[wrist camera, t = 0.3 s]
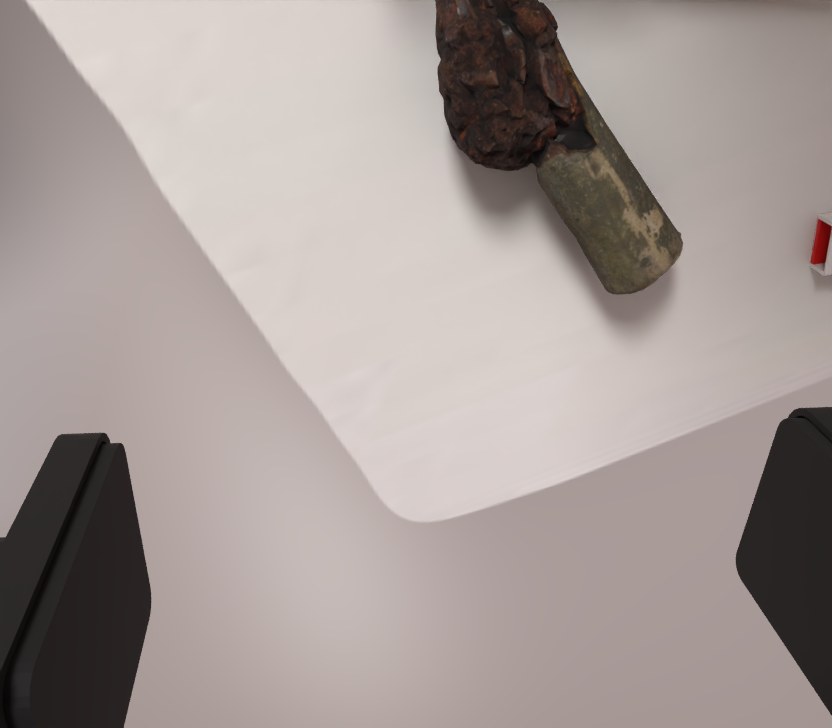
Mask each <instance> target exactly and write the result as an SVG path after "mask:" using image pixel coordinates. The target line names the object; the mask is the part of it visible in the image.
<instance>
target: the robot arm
mask: <svg viewBox="0 0 832 728" xmlns="http://www.w3.org/2000/svg"><path fill="white" fill-rule="evenodd" d="M736 566H737V571H738V574H739V576H740V578H741V580H742V582H743V583H744V585H745V586H746V588H747V589H748V590H749V592H750V594H751V595H752V597H753V598H754V600H755V601H756V603H757V604H758V605H759V607H760V609H761V610H762V612H763V613H764V615H765V616H766V618H767V619H768V621H769V622H770V624H771V625H772V627H773V628H774V630H775V631H776V632H777V634H778V636H779V637H780V639H781V640H782V642H783V643H784V644H785V646H786V647H787V649H788V651H789V652H790V653H791V655H792V656H793V658H794V660H795V661H796V663H797V664H798V666H799V667H800V668H801V670H802V672H803V673H804V675H805V676H806V677H807V679H808V681H809V682H810V684H811V685H812V687H813V688H814V689H815V691H816V693H817V694H818V696H819V697H820V698H821V700H822V702H823V703H824V705H825V706H826V707H827V709H828V710H829V712H830V714H831V715H832V407H822V408H799V409H796V410H794V411H793V412H792V413H791V414H790V415H789V417H788V418H787V419H784V420H783V421H781V422H780V424H779V426H778V428H777V431H776V434H775V437H774V440H773V443H772V446H771V450H770V453H769V456H768V459H767V462H766V465H765V468H764V471H763V474H762V477H761V480H760V483H759V486H758V489H757V493H756V495H755V498H754V502H753V504H752V508H751V511H750V514H749V517H748V520H747V523H746V526H745V529H744V532H743V535H742V538H741V541H740V544H739V547H738V550H737V554H736ZM150 611H151V589H150V583H149V578H148V573H147V567H146V562H145V556H144V550H143V545H142V539H141V534H140V528H139V523H138V518H137V513H136V507H135V501H134V496H133V491H132V485H131V479H130V474H129V469H128V463H127V458H126V453H125V449H124V446H123V444H121V443H112V444H111V443H110V440H109V438H108V436H107V434H105V433H84V434H61V435H59V436H58V437H57V438H56V440H55V441H54V443H53V445H52V447H51V449H50V451H49V453H48V455H47V457H46V459H45V461H44V463H43V465H42V467H41V469H40V471H39V473H38V475H37V477H36V479H35V481H34V483H33V485H32V487H31V489H30V491H29V493H28V495H27V496H26V499H25V500H24V502H23V504H22V506H21V508H20V510H19V512H18V514H17V516H16V519H15V520H14V522H13V524H12V526H11V528H10V530H9V532H8V534H7V536H6V537H4V538H0V728H124V723H125V719H126V714H127V711H128V706H129V702H130V698H131V694H132V689H133V685H134V681H135V677H136V673H137V668H138V664H139V660H140V656H141V651H142V647H143V643H144V639H145V634H146V630H147V625H148V622H149V617H150Z"/></svg>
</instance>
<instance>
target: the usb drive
mask: <svg viewBox="0 0 832 728" xmlns="http://www.w3.org/2000/svg"><path fill="white" fill-rule="evenodd" d="M812 250H813V252H812V257H811V263H810V265H809V267H811V268H812V269H814V270H815V271H817V272H818V273H820V274H821V275H823V276H828V275H832V212H830V213H823V214H818V218H817V224H816V230H815V236H814V242H813V248H812Z"/></svg>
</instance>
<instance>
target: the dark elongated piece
mask: <svg viewBox="0 0 832 728" xmlns="http://www.w3.org/2000/svg"><path fill="white" fill-rule="evenodd" d="M435 1H436V9H437V13H436V33H435V34H436V42H437V50H438V54H439V56H440V58H441V61H440V64H439V66H438V80H439V92H440V93H441V95H442V96H443V99H444V114H445V119H446V122H447V125H448V127H449V130H450V133H451V136H452V138H453V140H454V141H455V142H456V144H457V146H458V147H459V149H461V150H462V151H463V152H464V153H465V154H466V155H467V156H468V157H469V158H470V159H471V160H472V161H474V162H475V163H476V164H482V165H483V166H485V167H487V168H493V169H500V170H505V171H513V170H519V169H521V168H524V167H527V166H528V165H529V164H531V163H533V164H534V165H535V166H536V167H537V176H538V181H539V183H540V186H541V187H542V189H543V190H544V192H545V193H546V195H547V196H548V198H549V199H550V201H551V203H552V204H553V206H554V207H555V209H556V210H557V212H558V213H559V215H560V216H561V218H562V219H563V221H564V222H565V224H566V225H567V226H568V228H569V229H570V230H571V232H572V233H573V234H574V236H575V237H576V238H577V240H578V242H579V244H580V246H581V248H582V250H583V252H584V254H585V256H586V257H587V259H588V260H589V262H590V264H591V266H592V267H593V269H594V271H595V272H596V274H597V276H598V278H599V279H600V281H601V283H602V284H603V286H604V288H605V289H606V290H607V291H608V292H610V293H612V294H631V293H634V292H637V291H640V290H643V289H645V288H646V287H648V286H650V285H651V284H652V283H654V282H655V281H656V280H657V279H658V278H659V277H660V276H661V275H663V274H664V273H665V272H666V271H667V270H668V269H669V268H670V267H671V266H672V265H673V264H674V263H675V262H676V260H677V259H678V258H679V256H680V254H681V251H682V247H683V242H682V239H681V234H680V233H679V232H678V231H677V230H676V228H675V227H674V225H673V224H672V222H671V221H670V219H669V218H668V216H667V215H666V213H665V212H664V210H663V209H662V207H661V206H660V204H659V203H658V202H657V200H656V199H655V197H654V196H653V194H652V193H651V191H650V190H649V188H648V186H647V185H646V183H645V182H644V180H643V179H642V177H641V175H640V174H639V172H638V171H637V169H636V168H635V167H634V165H633V164H632V162H631V160H630V159H629V157H628V156H627V154H626V153H625V151H624V150H623V148H622V147H621V145H620V144H619V142H618V141H617V139H616V138H615V136H614V135H613V133H612V132H611V130H610V129H609V127H608V126H607V124H606V123H605V121H604V119H603V118H602V116H601V114H600V113H599V111H598V110H597V108H596V107H595V105H594V103H593V102H592V100H591V99H590V97H589V95H588V94H587V92H586V91H585V89H584V88H583V86H582V84H581V83H580V81H579V80H578V78H577V76H576V75H575V73H574V71H573V69H572V67H571V65H570V63H569V61H568V59H567V57H566V54H565V52H564V50H563V48H562V46H561V44H560V42H559V40H558V38H557V32H556V30H557V27H558V26H557V22H556V20H555V18H554V16H553V15H552V13H551V11H550V10H549V9H548V8H547V7H546V6H545V4H544V3H540V2H539V1H538V0H435Z"/></svg>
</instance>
